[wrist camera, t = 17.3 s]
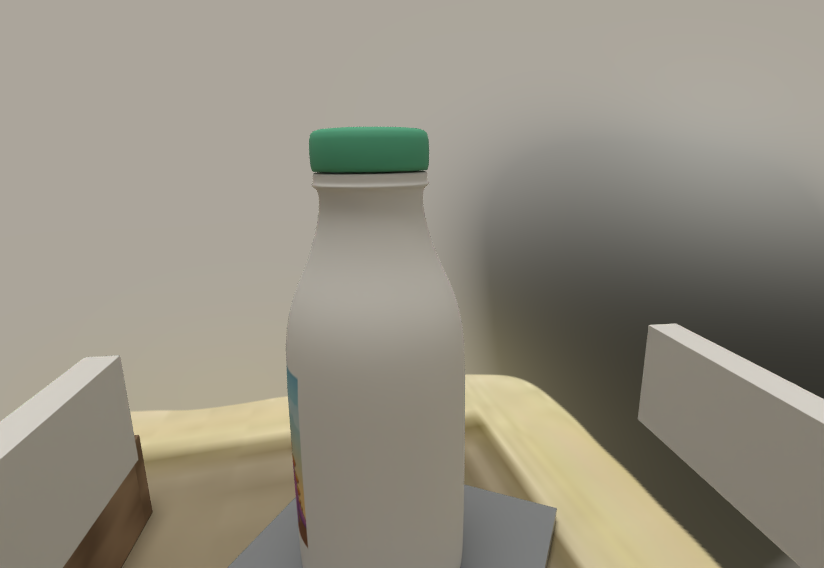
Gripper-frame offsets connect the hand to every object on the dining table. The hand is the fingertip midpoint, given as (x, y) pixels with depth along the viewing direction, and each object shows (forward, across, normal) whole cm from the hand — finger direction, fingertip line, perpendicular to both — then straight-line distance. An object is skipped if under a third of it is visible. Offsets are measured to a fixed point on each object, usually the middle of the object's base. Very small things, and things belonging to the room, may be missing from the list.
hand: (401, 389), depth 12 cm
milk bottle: (+9, 0, -14) cm, 16 cm away
